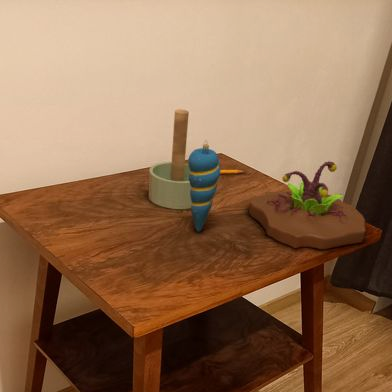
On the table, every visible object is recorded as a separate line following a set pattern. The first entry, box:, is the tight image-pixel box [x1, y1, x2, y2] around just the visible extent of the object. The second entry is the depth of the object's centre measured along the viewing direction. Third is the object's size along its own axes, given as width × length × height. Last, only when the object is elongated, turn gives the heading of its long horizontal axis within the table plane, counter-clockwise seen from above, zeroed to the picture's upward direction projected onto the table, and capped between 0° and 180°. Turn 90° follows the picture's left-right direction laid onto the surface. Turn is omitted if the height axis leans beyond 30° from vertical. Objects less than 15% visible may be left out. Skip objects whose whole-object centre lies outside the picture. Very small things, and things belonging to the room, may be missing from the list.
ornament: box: [187, 139, 221, 233], centre depth 87 cm, size 5×5×15 cm
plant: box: [248, 160, 366, 250], centre depth 94 cm, size 20×20×11 cm
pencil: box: [220, 169, 245, 175], centre depth 112 cm, size 1×19×1 cm
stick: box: [171, 108, 190, 181], centre depth 97 cm, size 5×5×15 cm
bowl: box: [148, 161, 192, 210], centre depth 100 cm, size 10×10×5 cm
